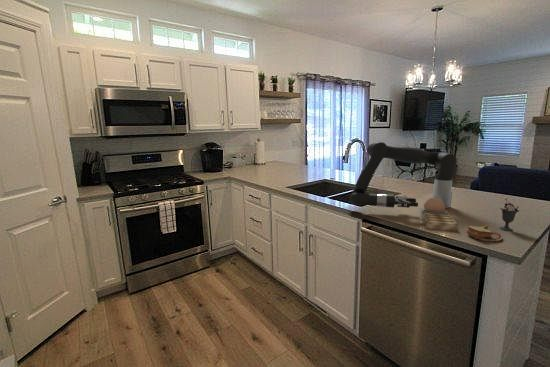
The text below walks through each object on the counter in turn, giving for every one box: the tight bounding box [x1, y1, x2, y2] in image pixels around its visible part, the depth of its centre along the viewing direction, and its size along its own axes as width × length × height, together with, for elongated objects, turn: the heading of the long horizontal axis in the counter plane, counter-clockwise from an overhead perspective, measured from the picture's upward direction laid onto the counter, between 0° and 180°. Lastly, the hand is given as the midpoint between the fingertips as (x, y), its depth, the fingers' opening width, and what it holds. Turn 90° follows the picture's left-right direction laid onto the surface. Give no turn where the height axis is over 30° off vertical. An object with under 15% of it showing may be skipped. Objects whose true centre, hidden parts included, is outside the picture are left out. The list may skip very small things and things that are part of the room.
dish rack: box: [421, 213, 458, 232], centre depth 138 cm, size 13×13×4 cm
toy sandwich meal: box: [466, 224, 503, 243], centre depth 123 cm, size 12×14×5 cm
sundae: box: [499, 198, 520, 232], centre depth 128 cm, size 7×7×15 cm
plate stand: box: [419, 208, 449, 218], centre depth 148 cm, size 12×6×4 cm, turn 70°
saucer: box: [423, 197, 446, 213], centre depth 147 cm, size 10×2×10 cm, turn 70°
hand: (416, 202), depth 150 cm, fingers open, 8 cm apart
